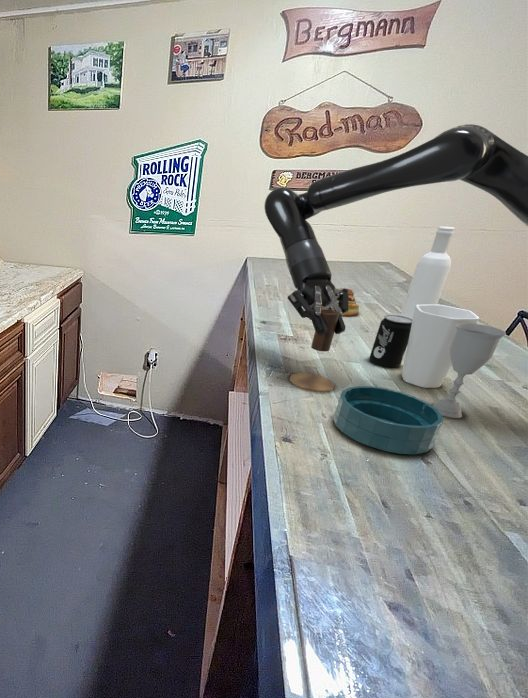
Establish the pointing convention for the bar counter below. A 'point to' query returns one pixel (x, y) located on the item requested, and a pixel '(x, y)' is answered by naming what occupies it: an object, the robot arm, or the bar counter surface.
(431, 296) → the bottle
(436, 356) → the cup
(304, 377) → the coaster
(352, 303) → the pastry
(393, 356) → the beverage can
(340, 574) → the bar counter surface
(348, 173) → the robot arm
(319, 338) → the brown cylinder
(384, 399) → the bowl
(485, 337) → the chalice
